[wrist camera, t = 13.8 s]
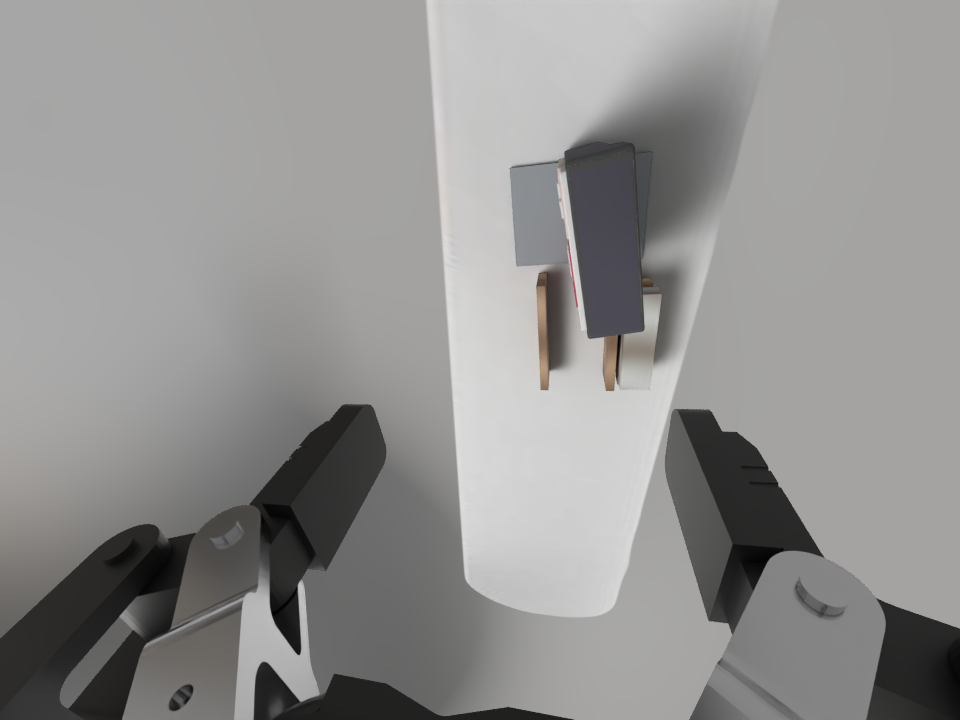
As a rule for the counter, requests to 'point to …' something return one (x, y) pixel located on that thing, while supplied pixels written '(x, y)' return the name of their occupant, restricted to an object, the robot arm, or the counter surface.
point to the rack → (542, 310)
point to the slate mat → (555, 212)
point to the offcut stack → (639, 345)
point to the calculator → (603, 236)
